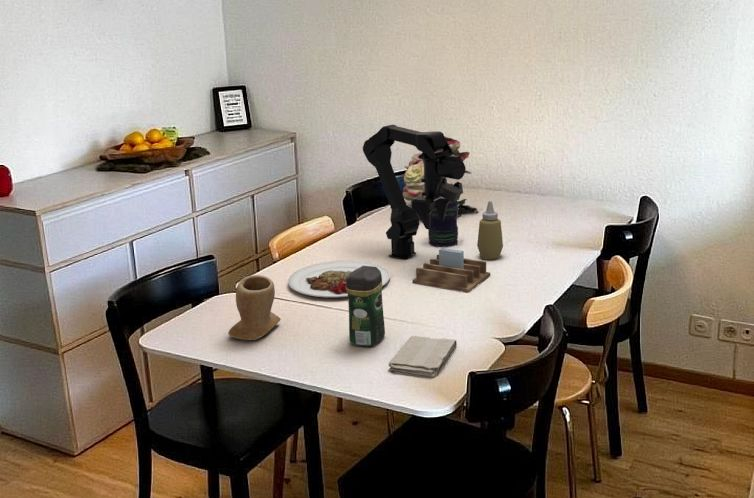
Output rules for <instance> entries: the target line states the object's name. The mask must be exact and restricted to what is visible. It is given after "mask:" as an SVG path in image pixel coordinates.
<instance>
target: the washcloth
mask: <svg viewBox="0 0 754 498" xmlns="http://www.w3.org/2000/svg"><path fill="white" fill-rule="evenodd" d="M457 344H458V342H457V340H456V339H451V338H443V337H442V338H431V337H429V336H421V335H420V336H417V335H411V336H410V337H409V338H408V340H406V342H405V343H404V344H403V346H401V347H400V349H399V350H398V351H397V353H396V354H395V355H394V356H393V357H392V358H391V359H390V361H389V363H388V367H390V368H389V369H388V372H394V373H396V374H399V375H409V376H415V377H424V378H434V377H436V376H437V375H438V374H439V373H440V372H441V371H442V369H443V368H444V366H445V365H446V363H448V361H449V360H450V358H451V356H452V355H453V353H454V352H455V350H456V348H457Z"/></svg>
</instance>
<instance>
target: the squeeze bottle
mask: <svg viewBox="0 0 754 498" xmlns="http://www.w3.org/2000/svg"><path fill="white" fill-rule="evenodd" d="M478 222H479V224H478V233H477V234H478V235H477V244H476V247H477V250H478V252H479V253H478V254H479V255H480V258H481V259H483V260H497V259H499V258H500V256H501V253H502V251H503V248H504V242H503V233H502V221H501V219H499V217H498V211H497V212H496V211H495V209H494V206H493V201H491V200H489V201H488V202H487V205H486V210H485V211H484V212H482V219H480V220H479V221H478Z"/></svg>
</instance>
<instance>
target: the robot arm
mask: <svg viewBox="0 0 754 498" xmlns="http://www.w3.org/2000/svg"><path fill="white" fill-rule="evenodd" d="M444 136H445V134H444V133H443V132H441V131H438V130H437V131H418V130H414V129H409V128H407V127H402V126H399V125H396V124H388V125H385V126H382V127H381V128H380V129H379V130H378V131H377V132H376V133H374V134H373V135H372V136H370V137H369V138H368V139H366V140H365V141H364V142H363V146H362V152H363V154H364V157H366V158H365V159H366V160H367V162H368V163H370V164H371V165H372V166H373V167H374V168H375V170H376V173H377V174H378V178H379V180H380V182H381V185H382V188H383V191H384V193H385V196H386V199H387V201H388V204H389V207H390V209H391V211H390V212H391V213H390V218H389V219H390V224H391V226H390V227H389V228H387V230H386V232H385V235H386V238H387V240H391V241H390V245H391V253H390V254H388V255H389V256H388V257H390V258H394V259H402V260H408V259H409V258H411V257H412V256H414V255H416V254H417V252H416V251H415V241H414V238H413V237H414V236H417V233H418V229H419V228H420V220H418V219H419V217H420V219H421V223H422V224H423V227H424V228H425V230H428V229H429V228H430V220H431V212H432V211H433V210H434V209H435V208H434V206H436V210H437V213H438V217H439V220H440V221H443V220H444V217H445V213H446V210H447V206H448V204H449V202H455V201H460V198H461V195H462V194H463V193H464V191H463V190H464V188H463V183H462V182H460V181H459V180H461V179H462V178H463V177H464V176H465V174H466V173H465V170H466V169H467V168H466V166H465V165H466V164H465V161H461V160H460V156H453V152H452V150H451V148H450V146H449V144H448V142H447V140H446V138H445V137H444ZM395 142H399V143H402V144H406V145H410V146H413V147H414V148H416V149H417V151H419V152H420V153H422V154H421V155H419V156H418V158H419V159H423V160H424V178H423V179H421V182H423V183H424V192H422V196H426V197H420V196H419V197H417V198H415V199H413V200H412V201H410V205H411V208H410V205H408V204H407V203H406V199H404V197H403V192H402V189H401V186H400V184H399V180H398V179H397V176H396V174H395V170H394V168H393V165H392V163H391V160H392V154H393V152H392V148H391V147H392V146H393V145H394V144H395ZM442 150H443V151H442ZM438 151H441V152H438ZM434 152H437V153H434ZM448 179H452V180H457V181H456V182H455V183H454V184H453V183H448ZM416 212H417V213H416ZM417 214H418V215H419V217H418V215H417Z"/></svg>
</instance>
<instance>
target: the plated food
mask: <svg viewBox="0 0 754 498" xmlns="http://www.w3.org/2000/svg"><path fill="white" fill-rule="evenodd" d="M361 266H372V267H377V268H378V269H379V270H380V271H381V276H382V287H383V286H385V285H386V284H387V283H388V282H389V281H390V279H391V278H390V277H391V275H390V272H389V270H388V269H387V268H385V267H383V266H382V265H379V264H376V263H372V262H367V261H361V260H332V261H323V262H319V263H314V264H311V265H307V266H305V267H302V268H300V269H297V270H295V271H294V272H293V273H292V274H291V275H289V277H288V280H287V284H288V286H289V288H291V289H292V290H293V291H295V292H297V293H299V294H303V295H305V296H312V297H318V298H319V297H320V298H348V294H347V290H346V277H347V276H348V275H349V274H350V273H352V272H353V271H354V270H356V269H358V268H360V267H361Z"/></svg>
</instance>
